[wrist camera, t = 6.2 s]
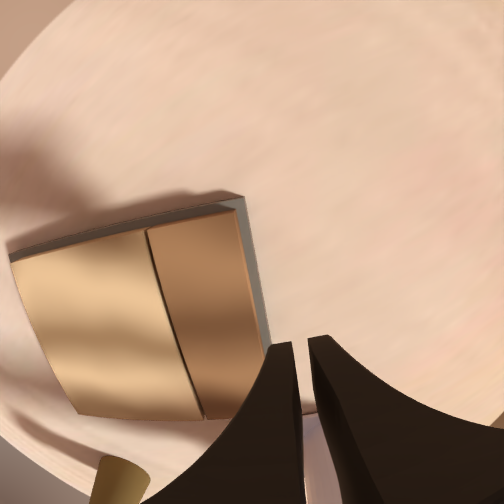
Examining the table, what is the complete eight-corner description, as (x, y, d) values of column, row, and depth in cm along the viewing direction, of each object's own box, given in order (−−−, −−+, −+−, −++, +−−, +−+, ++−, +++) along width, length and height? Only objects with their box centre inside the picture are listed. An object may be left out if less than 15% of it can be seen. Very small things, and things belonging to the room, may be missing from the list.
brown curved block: (273, 399, 19) (274, 413, 18) (210, 405, 19) (207, 419, 18) (235, 208, 16) (233, 212, 14) (156, 224, 16) (146, 230, 15)
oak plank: (206, 406, 19) (203, 420, 18) (85, 403, 20) (78, 414, 19) (151, 226, 16) (141, 231, 15) (22, 257, 17) (10, 263, 15)
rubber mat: (280, 394, 20) (281, 403, 19) (78, 399, 21) (73, 406, 20) (244, 196, 17) (243, 198, 16) (16, 251, 18) (8, 254, 17)
